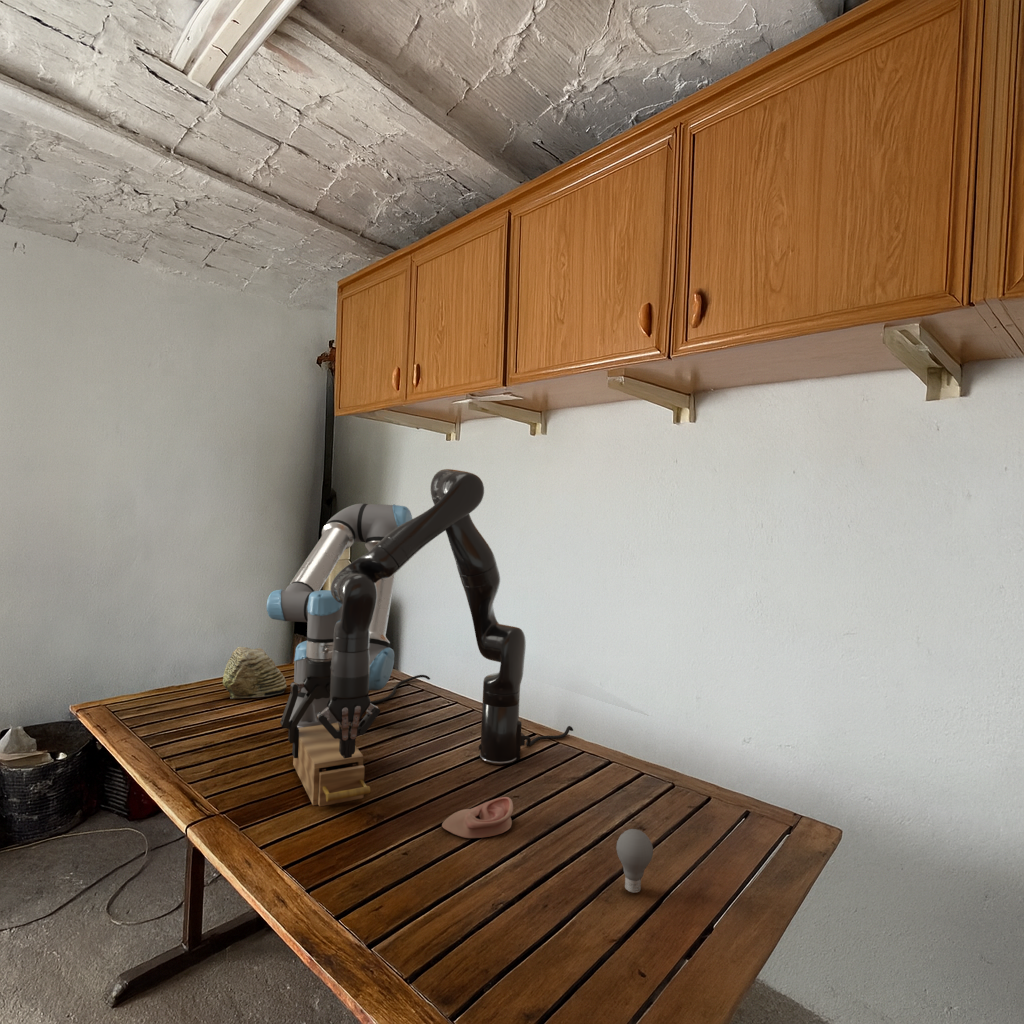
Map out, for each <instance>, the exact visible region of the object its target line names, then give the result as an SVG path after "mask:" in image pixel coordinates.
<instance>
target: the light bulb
mask: <svg viewBox="0 0 1024 1024" xmlns="http://www.w3.org/2000/svg"><path fill="white" fill-rule="evenodd" d="M615 849H616V854H617V857H618V859H619V861H620V863H621V865H622V867H623V873H624V874H623V875H624V876H625V878H624V888H625V890H627V891H628V892H630V893H634V894H635V893H639V892H640V891H641V889H642V887H641V886H642V879H643V877H644V875H645V871H646V868H647V867H648V866H649V864H650V863H651V861H652V859H653V855H654V847H653V843H652V841H651V838H649V836H648V835H647V834H646V833H645V832H643V831H642V830H641V829H636V828H629V829H627V830H625V831H623V832H622V833H621V834H620V835H619V837H618V839H617V841H616V847H615Z"/></svg>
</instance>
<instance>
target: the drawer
mask: <svg viewBox="0 0 1024 1024" xmlns="http://www.w3.org/2000/svg"><path fill="white" fill-rule="evenodd" d="M365 768H366V767H365V766H364V764H363V765H360V766H356V763H355V762H354V763H348V764H342V765H336V766H330V767H324V768H319V791H318V792H319V796H318V807H325V806H329V805H335V804H340V803H346V802H350V801H356V800H360V799H364V796H365V795H370V794H371V786H370V785H367V784H366V782H365V770H366V769H365Z"/></svg>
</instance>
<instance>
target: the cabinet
mask: <svg viewBox="0 0 1024 1024" xmlns="http://www.w3.org/2000/svg"><path fill="white" fill-rule="evenodd" d="M332 726H333V727H334V728H335V729H336V730H339V725H338V723H332ZM298 729H299V743H298V758H294V756H293V755H292V756H293V759H292V766H293V768H294V769H295V772H296V774H297V776H298V777H299V780H300V782H301V784H302V786H303V788H304V790H305V792H306V795H307V796H308V799H309V800H310V802H311V805H312V806H317V805H318V796H319V792H318V791H319V768H324V767H330V766H336V765H342V764H348V763H354V762H355V763H356V766H360V765H363V766H364V755H363V753H362V752H361V751H360V750H359V748H358V747H357V746H356V745H355V753H354V754H352V757H350V758H343V756H341V754H340V752H339V741H340V739H338V738H337V739H335V738H333V736H332V735H331V734H330V733H329V732H328V731H327V729H326V728H325V727H324V726H323V725H317V726H310V727H302V728H298ZM318 806H319V805H318Z"/></svg>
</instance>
